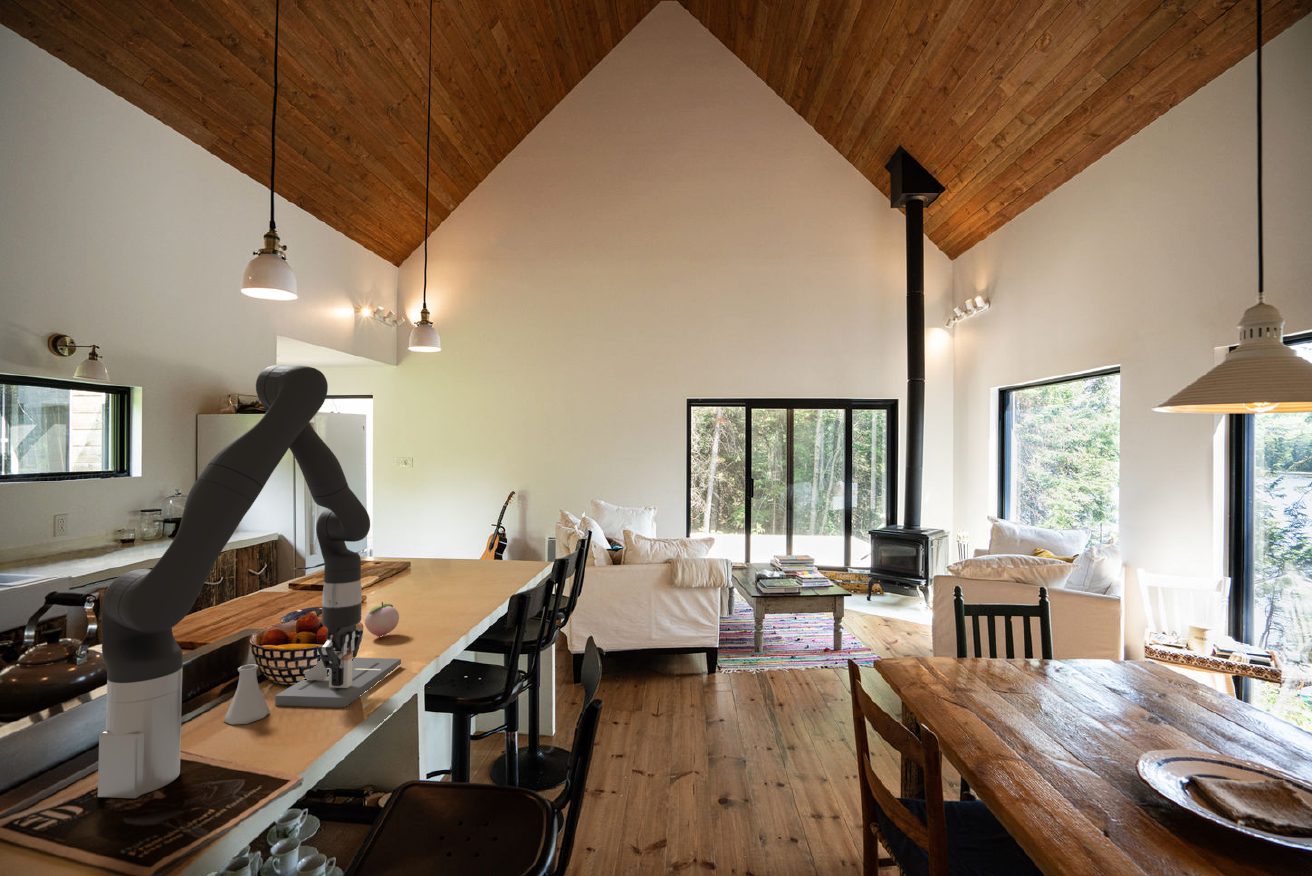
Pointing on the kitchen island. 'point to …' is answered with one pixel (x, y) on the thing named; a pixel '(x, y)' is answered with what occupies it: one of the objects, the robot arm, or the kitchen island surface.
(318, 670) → the fader
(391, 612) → the decorative fruit
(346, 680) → the fader
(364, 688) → the gray slotted board
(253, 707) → the flask
